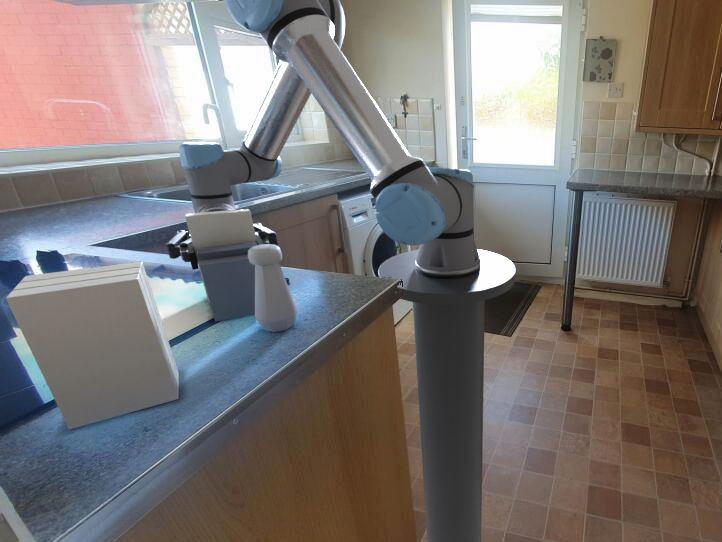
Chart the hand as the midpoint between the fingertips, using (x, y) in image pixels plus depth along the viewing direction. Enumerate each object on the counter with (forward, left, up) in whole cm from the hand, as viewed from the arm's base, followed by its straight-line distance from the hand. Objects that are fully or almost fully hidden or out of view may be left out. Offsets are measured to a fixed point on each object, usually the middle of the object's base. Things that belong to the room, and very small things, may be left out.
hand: (229, 256), depth 68 cm
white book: (0, -5, -9) cm, 10 cm away
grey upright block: (0, +2, -8) cm, 9 cm away
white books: (+13, +22, -9) cm, 27 cm away
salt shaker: (-4, +12, -9) cm, 16 cm away
